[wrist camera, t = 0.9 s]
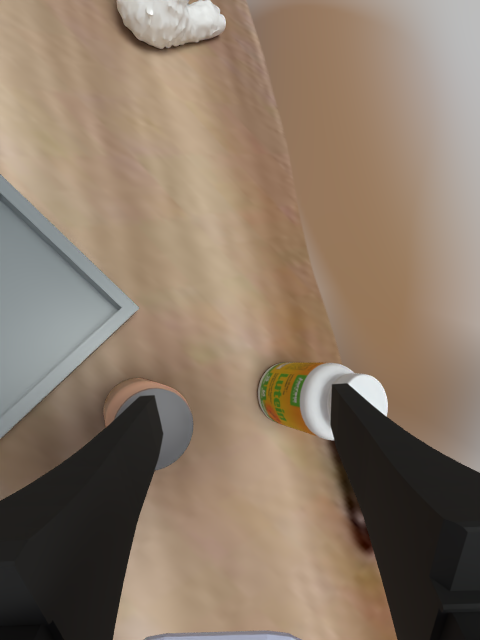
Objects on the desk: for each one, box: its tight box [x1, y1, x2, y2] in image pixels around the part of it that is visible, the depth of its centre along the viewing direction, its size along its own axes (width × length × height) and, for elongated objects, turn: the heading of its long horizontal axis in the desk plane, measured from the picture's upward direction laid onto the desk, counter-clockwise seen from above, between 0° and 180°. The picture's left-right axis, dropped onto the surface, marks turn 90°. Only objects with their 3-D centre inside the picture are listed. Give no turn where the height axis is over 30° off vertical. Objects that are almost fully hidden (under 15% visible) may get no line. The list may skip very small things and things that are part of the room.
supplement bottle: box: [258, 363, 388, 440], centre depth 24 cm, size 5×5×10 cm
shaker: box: [103, 378, 193, 470], centre depth 20 cm, size 4×4×8 cm
